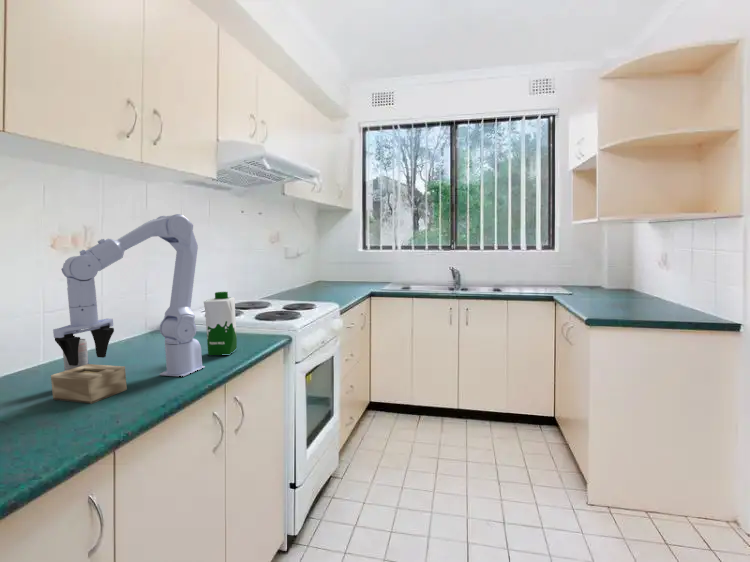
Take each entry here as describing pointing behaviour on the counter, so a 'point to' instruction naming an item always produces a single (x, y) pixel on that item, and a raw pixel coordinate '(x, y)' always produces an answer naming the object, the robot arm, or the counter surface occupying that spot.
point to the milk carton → (220, 324)
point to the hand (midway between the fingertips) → (88, 361)
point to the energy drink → (81, 356)
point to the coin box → (88, 383)
